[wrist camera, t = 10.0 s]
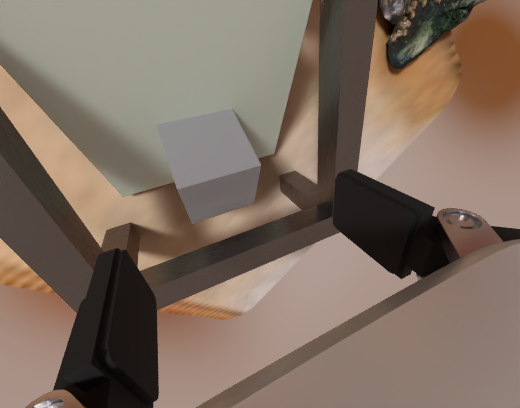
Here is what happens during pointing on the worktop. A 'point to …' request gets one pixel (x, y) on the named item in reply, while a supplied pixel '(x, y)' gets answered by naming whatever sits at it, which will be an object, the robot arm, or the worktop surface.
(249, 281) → the worktop surface
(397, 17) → the decorative rock
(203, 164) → the grey cube
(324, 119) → the frame
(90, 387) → the robot arm
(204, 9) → the trapdoor
